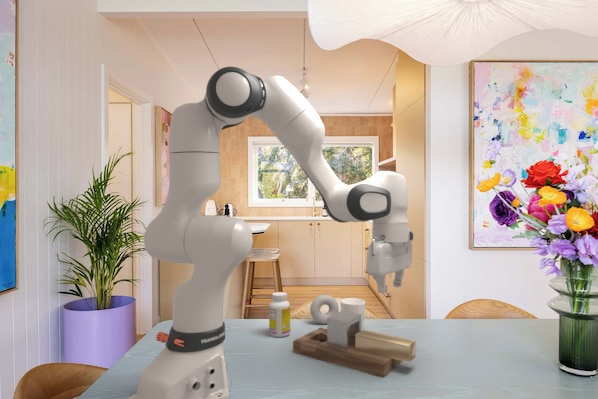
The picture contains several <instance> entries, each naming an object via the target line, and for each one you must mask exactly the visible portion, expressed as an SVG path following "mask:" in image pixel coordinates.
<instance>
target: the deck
mask: <svg viewBox="0 0 598 399" xmlns="http://www.w3.org/2000/svg"><path fill="white" fill-rule="evenodd" d="M292 353H296V354H300V355H303V356H306V357H310V358H313V359H318V360H321V361H324V362H326V363H332V364H335V365H338V366H341V367H345V368H348V369H352V370H355V371H359V372H363V373H366V374H369V375H372V376H373V375H374V376H377V377H379V378H385V377H386V376H388V374H389V373H391V372H392V371H393V370H394V369H395V368H397V366H398V365H399V364H401V363H402V361H400V360H396V359H392V358H388V357H384V356H380V355H376V354H372V353H368V352H364V351H360V350H356V349H355V341H352V340H349V349H348V350H343V349H339V348H335V347H331V346H328V345H327V328H323V327H319V328H317V329H315V330H312V331H310V332H309V333H307V334H305V335H303V336H301V337H298V338H296V339H294V340H293V341H292Z"/></svg>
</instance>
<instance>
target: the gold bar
mask: <svg viewBox="0 0 598 399" xmlns="http://www.w3.org/2000/svg"><path fill="white" fill-rule="evenodd" d="M416 347H417V346H416V340H414V339H409V338H404V337H399V336H395V335H390V334H385V333H381V332H377V331H373V330H368V329H364V330H361V331H360V332H358V333H356V334H355V349H356V350H360V351H364V352H368V353H372V354H376V355H380V356H384V357H388V358H392V359H396V360H400V361H401V362H404V363H408V364H409V363H411V362H412V361H413V360H414V359H415V358H416V350H417V349H416Z"/></svg>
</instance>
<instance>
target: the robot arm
mask: <svg viewBox="0 0 598 399" xmlns="http://www.w3.org/2000/svg"><path fill="white" fill-rule="evenodd" d="M250 117H251V118H252V117H253V118H256V119H259V120H260V121H261V122H263V123H264V124H265V125H267V127H268V129H269V130H270V131H271V132H272V133H273V134H274V136H275V137H276V139H278V141H279V142H280V143H281V145H283V147H284V148H285V150H287V152H289V154H290V155H291V156H292V157H293V159H294V160H295V161H296V162H297V165H299V167H300V168H301V170H302V172H304V174H305V175H306V177H307V178H308V179H309V181H310V183H311V184H312V185H313V186H314V187H315V189H316V190H317V191H318V193H319V195H320V196H321V198H322V203H323V206H324V209H325V212H326V213H327V214H328V216H329V218H331V219H332V220H334V222H337V223H343V224H345V223H350V222H351V223H364V222H369V221H372V241H371V242H370V244H369V245H368V247H367V253H366V268H365V269H366V273H367V275H368V276H372V277H373V276H374V280H375V282H376V285H377V292H378V294H385V293H387V291H388V290H387V289H388V285H386V278H387V275H389V274H392V273H394V274H395V275H394V279H393V280H392V282H393V284H392V286H393V287H394V288H401V287H402V285H403V278H404V274H405V269H409V268H410V267H411V265H412V262H413V241H414V240H415V233H414V232H413V231H412V230H410V227H409V220H408V216H407V215H408V214H407V211H408V209H409V194H408V193H409V190H408V183H407V180H406V176H404V174H402V173H400V172H398V171H393V170H383V169H382V170H378V171H376V172H375V173H374V174H373V175H372V176H369V177H368V178H366V179H364V180H362V181H359V182H355V183H352V184H346V183H344V182H342V180H340V179H339V177H338V176H337V175H336V173H335V171H333V169H332V167H330V165H329V163H328V162H327V161H326V159H325V157H324V154H323V143H324V140H325V138H326V137H325V136H326V128H325V124H324V122H323V121H322V119H321V117H320V115H319V113H318V112H317V111H316V109H315V108H314V107H313V106H312V104H311V103H310V102H309V101H308V100H307V98H306V97H305V96H304V95H303V94H302V93H301V92H300V91H299V90H298V88H296V87H295V86H294V85H293V84H292V83H291V82H289V81H288V80H287V78H285V77H283V76H281V75H272V76H268V77H266V78H264V79H263V78H261V77H259V76H257V75H255V74H252V73H250V72H248V71H246V70H244V69H243V68H239V67H237V66H225V67H221V68H220V69H218V70H216V71H215V72H214V73H213V74H212V75H211V76H210V78H209V80H208V81H207V84H206V91H205V95H204V98H203V99H202V100H201V101H199V102H197V103H196V102H187V103H183V104H181V105H179V106H177V107H175V109H174V110H173V112H172V114H171V119H170V124H169V134H168V160H169V162H168V164H169V169H168V171H169V174H168V176H169V177H168V178H169V180H168V181H169V182H168V183H169V184H168V193H167V195H166V200H165V201H164V204H163V206H162V209H161V210H160V212H159V213H158V215H157V216H156V217H154V219H152V220H151V221H150V222H149V223H148V224H147V226H146V228H145V230H144V234H143V235H144V236H143V243H144V244H143V245H144V247H145V250H146V253H147V254H148V255H149V256H150V257H151V258H154V259H156V260H159V261H162V262H166V263H170V264H171V263H172V264H174V263H175V264H189V265H190V264H192V265H193V270H192V275H191V277H190V279H188V280H186V281H184V282H183V283H181V284H180V285H179V286H177V287H176V289H175V291H174V292H173V295H172V325H171V328H170V330H169V332H168V333H167V332H163V331H159V332H157V334H156V335H155V336H156V337H155V340H156V341H157V342H160V343H163V344H164V343H165V347H163V349H162V350H161V351H160V352H159V353H158V354H157V356H155V357H154V359H152V361H151V362H150V363H149V364H148V365H147V366H146V367H145V369H144V370H143V371H141V373H140V375H139V378H138V382H137V389H136V393H134V394H132V395H130V396H129V397H127V398H126V399H230V396H231V395H230V388H231V384H232V383H231V380H230V376H229V372H228V369H227V362H226V354H225V343H224V342H225V340H226V325H225V324H226V323H225V322H224V302H225V301H224V299H225V298H224V297H225V290H226V285H227V283H228V280H229V278H230V276H231V274H232V273H233V271H234V270H236V268H237V267H238V266H239V265H240V264H241V263H243V262H245V260H246V259H247V258H248V257H249V255H250V253H251V251H252V248H253V244H254V238H253V237H254V236H253V231H252V229H251V227H250V226H249V224H248V223H247V222H246V221H245V220H244V219H241V218H237V217H234V216H233V217H232V216H228V215H202V208H203V205H204V202H205V201H206V200H208V199H209V198H211V197H212V196H214V195H215V194H216V193H218V191H219V189H220V187H221V184H222V176H221V175H222V172H221V151H220V150H221V148H220V147H221V146H220V145H221V144H220V139H221V133H222V132H221V131H223V130H225V129H228V128H232V127H235V126H238V125H240V124H242V123H243V122H245V121H246V120H247V119H248V118H250Z"/></svg>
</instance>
